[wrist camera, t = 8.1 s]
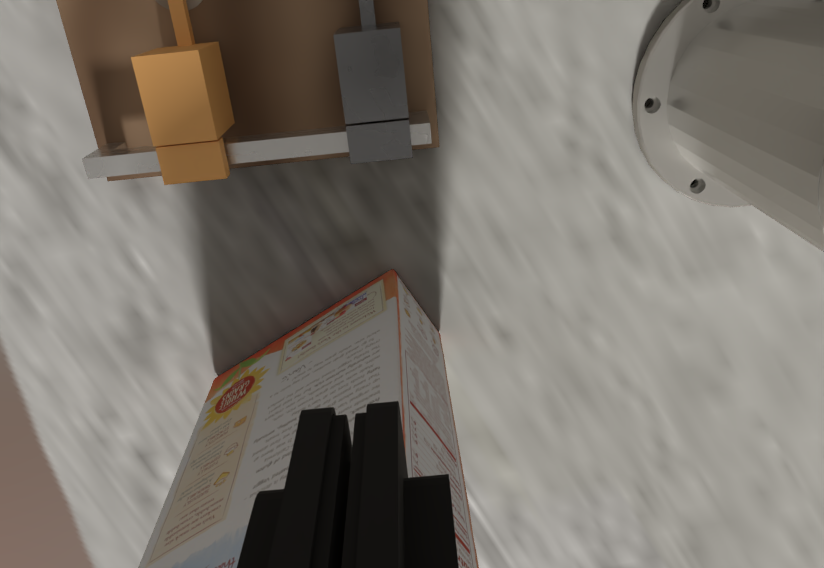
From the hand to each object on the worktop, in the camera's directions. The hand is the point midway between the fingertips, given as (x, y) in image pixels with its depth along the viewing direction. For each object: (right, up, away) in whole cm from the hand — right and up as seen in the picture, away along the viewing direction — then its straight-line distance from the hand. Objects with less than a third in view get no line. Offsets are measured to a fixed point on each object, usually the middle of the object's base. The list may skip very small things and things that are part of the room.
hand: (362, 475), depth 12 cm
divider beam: (-7, +15, +23) cm, 28 cm away
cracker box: (-4, -1, +32) cm, 33 cm away
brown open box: (-7, +16, +24) cm, 30 cm away
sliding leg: (-10, +14, +23) cm, 29 cm away
